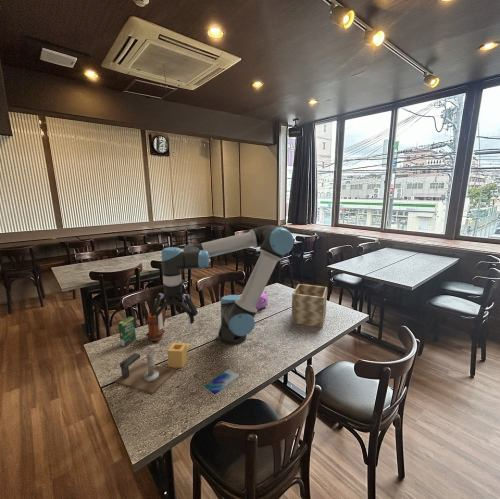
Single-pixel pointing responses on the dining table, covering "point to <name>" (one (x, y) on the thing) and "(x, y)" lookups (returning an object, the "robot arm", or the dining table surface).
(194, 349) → the dining table surface
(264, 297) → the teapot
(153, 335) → the mug
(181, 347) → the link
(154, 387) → the base
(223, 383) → the smartphone
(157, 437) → the dining table surface
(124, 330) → the coffee box
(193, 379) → the dining table surface
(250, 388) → the dining table surface
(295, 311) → the planter
